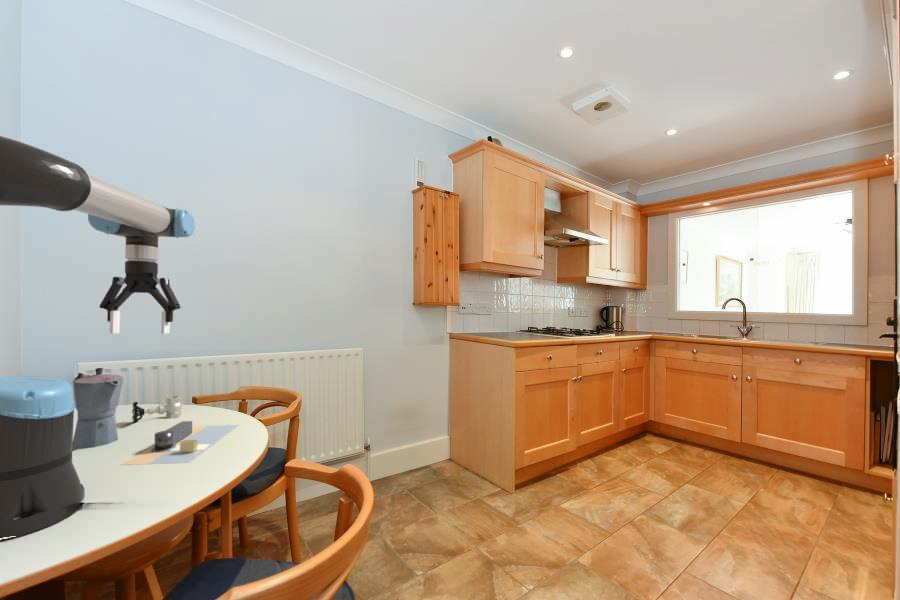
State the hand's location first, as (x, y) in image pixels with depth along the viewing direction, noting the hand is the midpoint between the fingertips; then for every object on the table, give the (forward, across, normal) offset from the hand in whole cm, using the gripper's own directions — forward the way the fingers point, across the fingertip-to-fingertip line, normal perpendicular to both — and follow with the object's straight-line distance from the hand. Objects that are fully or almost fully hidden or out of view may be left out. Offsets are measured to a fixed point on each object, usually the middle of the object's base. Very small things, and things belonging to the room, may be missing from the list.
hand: (140, 333), depth 112 cm
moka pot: (+28, +1, +16) cm, 32 cm away
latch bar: (+26, -19, +18) cm, 37 cm away
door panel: (+27, -23, +18) cm, 40 cm away
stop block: (+26, -26, +24) cm, 44 cm away
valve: (+28, -2, -6) cm, 28 cm away
